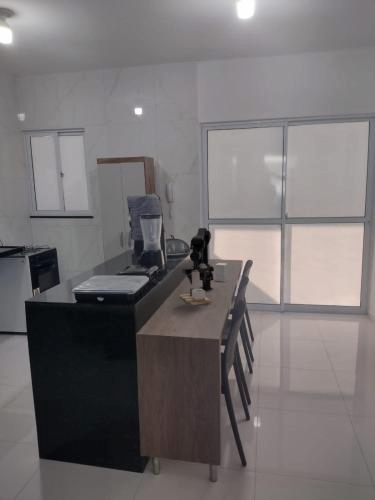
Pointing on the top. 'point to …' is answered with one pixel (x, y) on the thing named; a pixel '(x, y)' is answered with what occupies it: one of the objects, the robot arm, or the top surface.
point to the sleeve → (198, 295)
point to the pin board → (189, 299)
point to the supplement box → (221, 272)
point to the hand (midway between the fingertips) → (198, 283)
